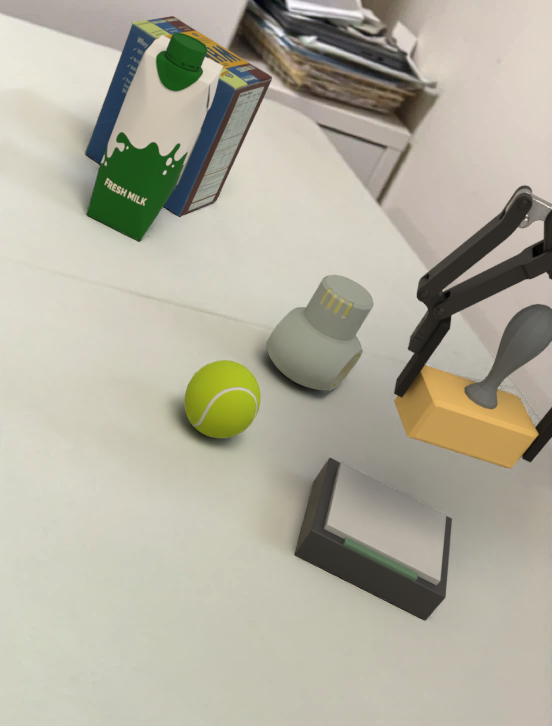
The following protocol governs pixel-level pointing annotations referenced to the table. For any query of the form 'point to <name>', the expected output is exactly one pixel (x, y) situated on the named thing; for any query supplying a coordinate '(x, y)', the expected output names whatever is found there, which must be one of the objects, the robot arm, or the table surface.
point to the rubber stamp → (479, 399)
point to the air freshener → (322, 334)
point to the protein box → (222, 121)
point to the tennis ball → (222, 399)
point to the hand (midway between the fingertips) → (462, 420)
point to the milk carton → (154, 133)
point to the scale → (377, 538)
